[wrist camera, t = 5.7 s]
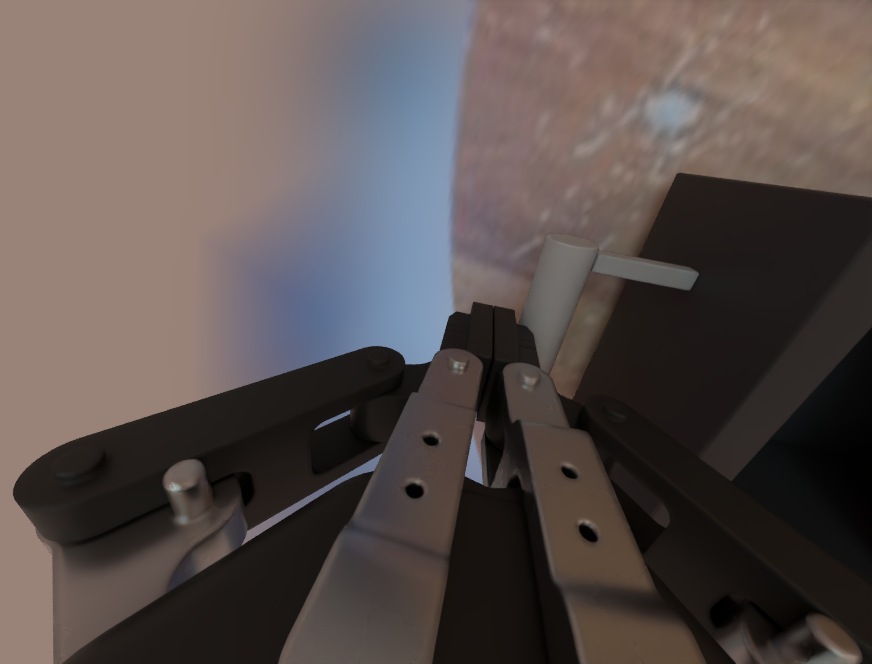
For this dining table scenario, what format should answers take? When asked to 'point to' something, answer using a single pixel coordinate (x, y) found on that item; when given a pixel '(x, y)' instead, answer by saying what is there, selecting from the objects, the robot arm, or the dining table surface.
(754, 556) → the robot arm
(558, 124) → the dining table surface
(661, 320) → the dark brown drawer
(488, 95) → the dining table surface
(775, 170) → the dining table surface
